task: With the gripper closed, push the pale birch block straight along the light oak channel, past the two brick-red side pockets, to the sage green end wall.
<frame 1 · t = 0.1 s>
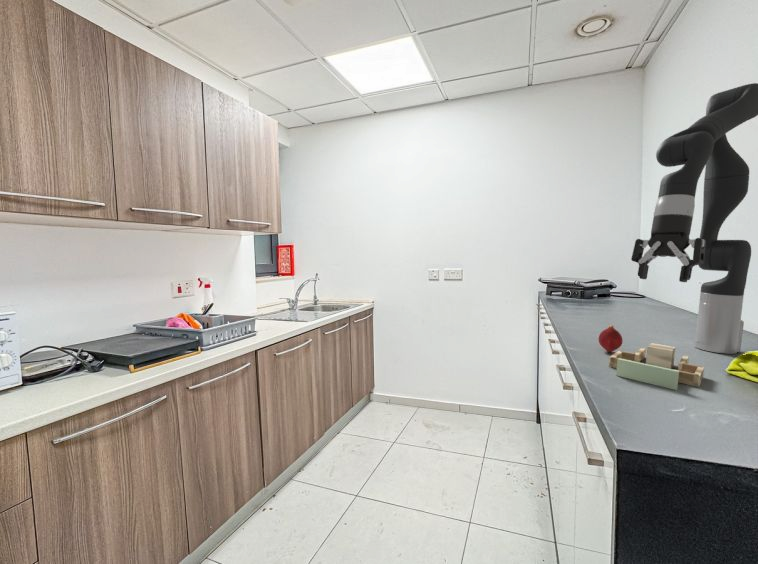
hand: (661, 280, 86), 22 cm above the countertop, tool pointing down, fingers open, 8 cm apart
onion: (609, 352, 101), on the countertop
block: (659, 365, 90), on the countertop
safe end: (648, 378, 80), on the countertop
channel: (655, 370, 86), on the countertop
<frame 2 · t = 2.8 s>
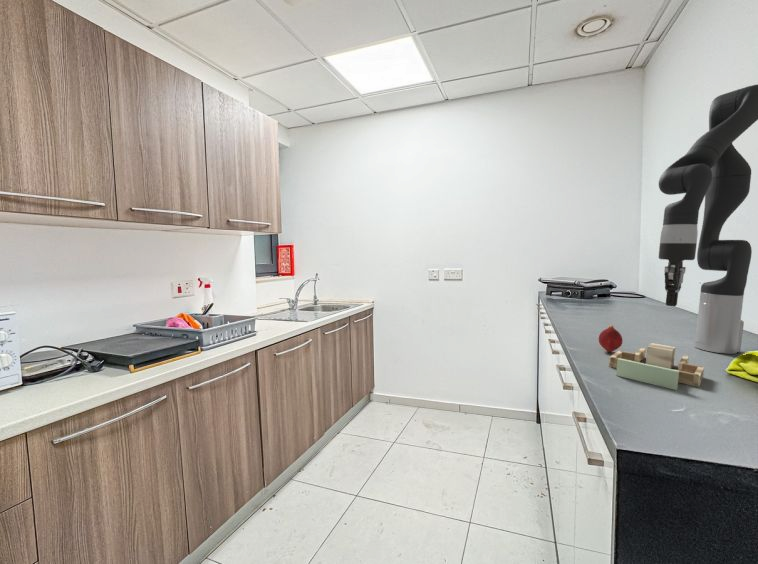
hand: (671, 305, 94), 15 cm above the countertop, tool pointing down, fingers closed
nothing on the countertop moved.
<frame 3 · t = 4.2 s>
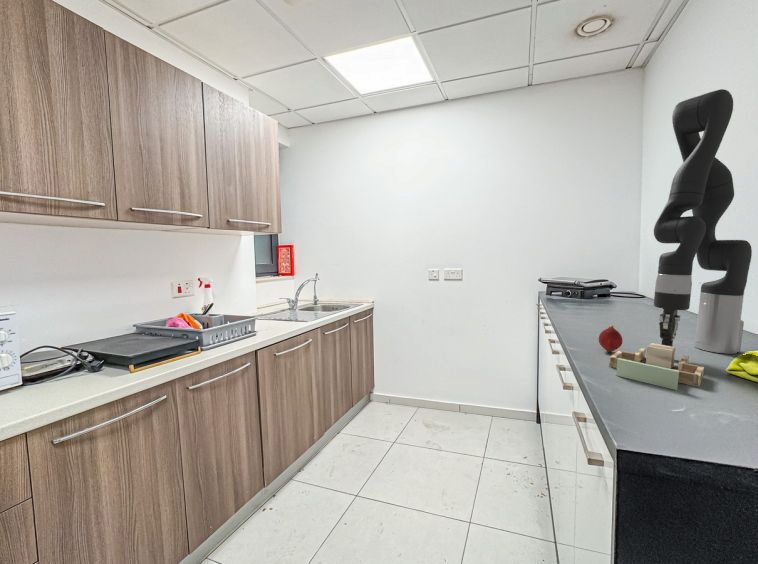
hand: (666, 352, 96), 2 cm above the countertop, tool pointing down, fingers closed
nothing on the countertop moved.
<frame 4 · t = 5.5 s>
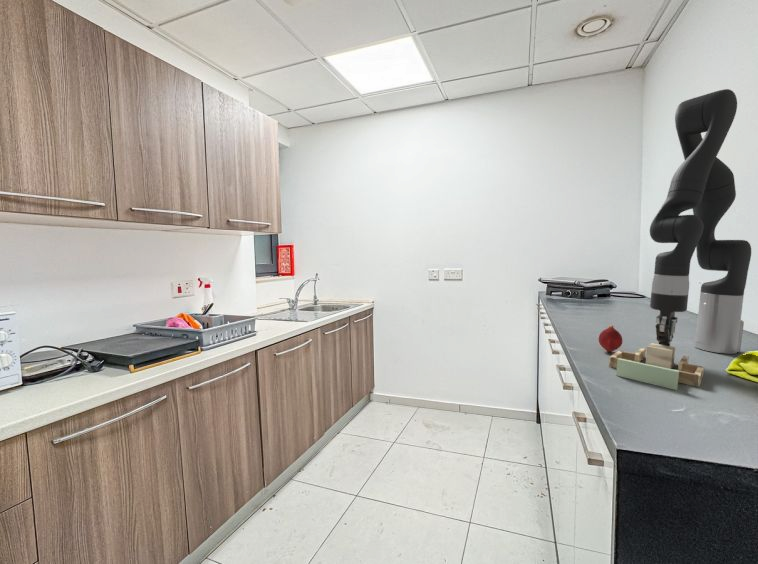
hand: (663, 355, 93), 2 cm above the countertop, tool pointing down, fingers closed
block: (659, 365, 90), on the countertop, touching gripper
everything else where it was.
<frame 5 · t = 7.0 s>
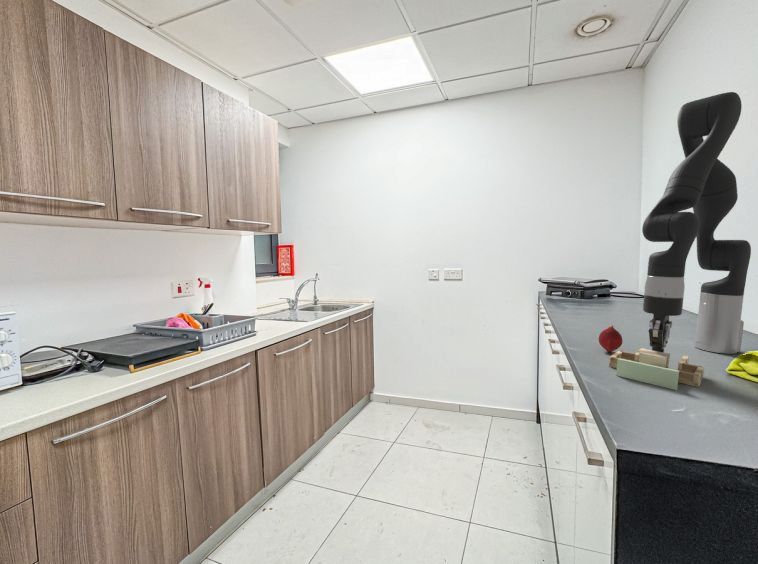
hand: (656, 362, 87), 2 cm above the countertop, tool pointing down, fingers closed
block: (652, 373, 84), on the countertop, touching gripper
everything else where it was.
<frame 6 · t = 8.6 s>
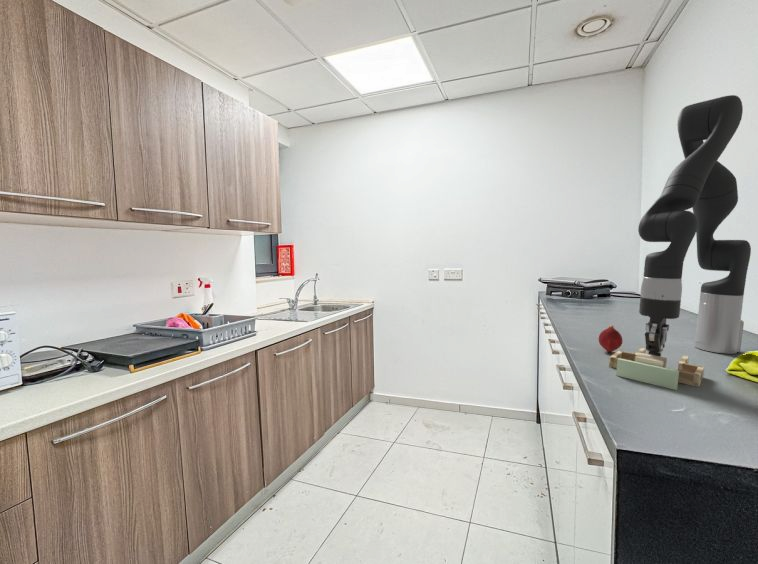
hand: (653, 366, 84), 1 cm above the countertop, tool pointing down, fingers closed
block: (649, 378, 80), on the countertop, touching gripper
everything else where it was.
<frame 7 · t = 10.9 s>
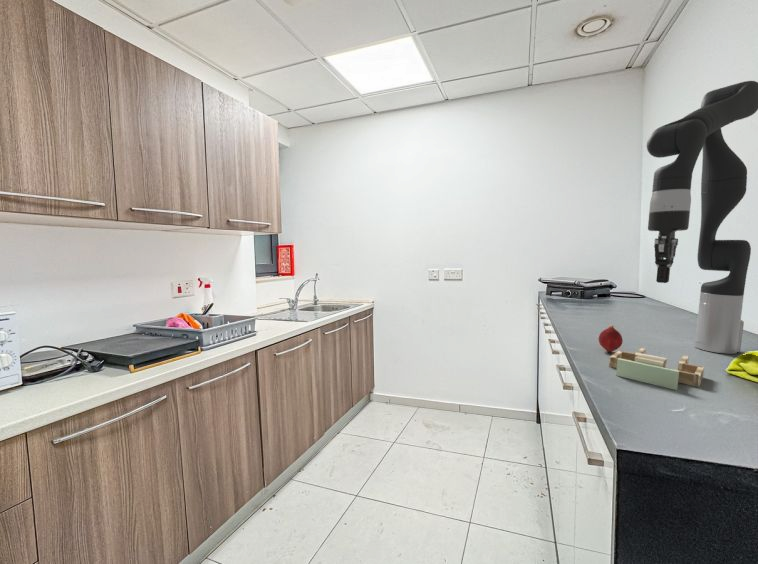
hand: (662, 282, 84), 22 cm above the countertop, tool pointing down, fingers closed
block: (649, 378, 80), on the countertop
everything else where it was.
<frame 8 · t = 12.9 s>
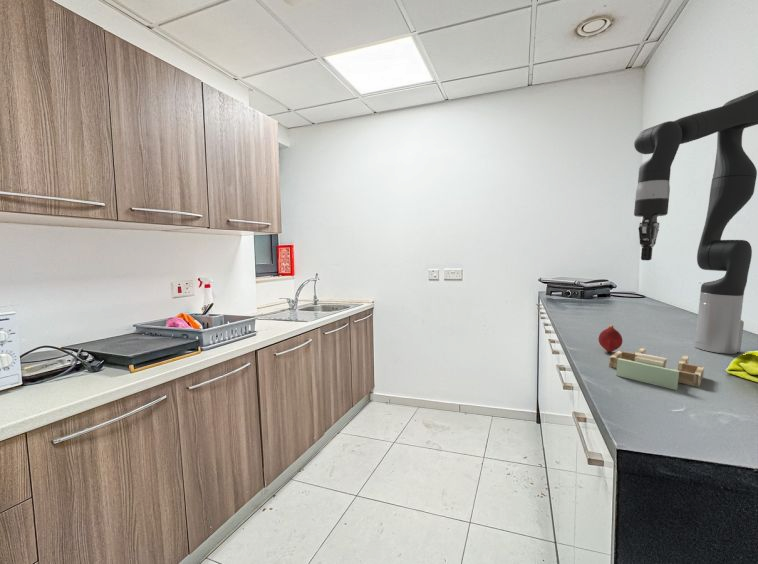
hand: (646, 260, 99), 27 cm above the countertop, tool pointing down, fingers closed
nothing on the countertop moved.
at the end: block 0.1 cm from the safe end (horizontally); block moved 14.0 cm from its start; block tilted 0° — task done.
